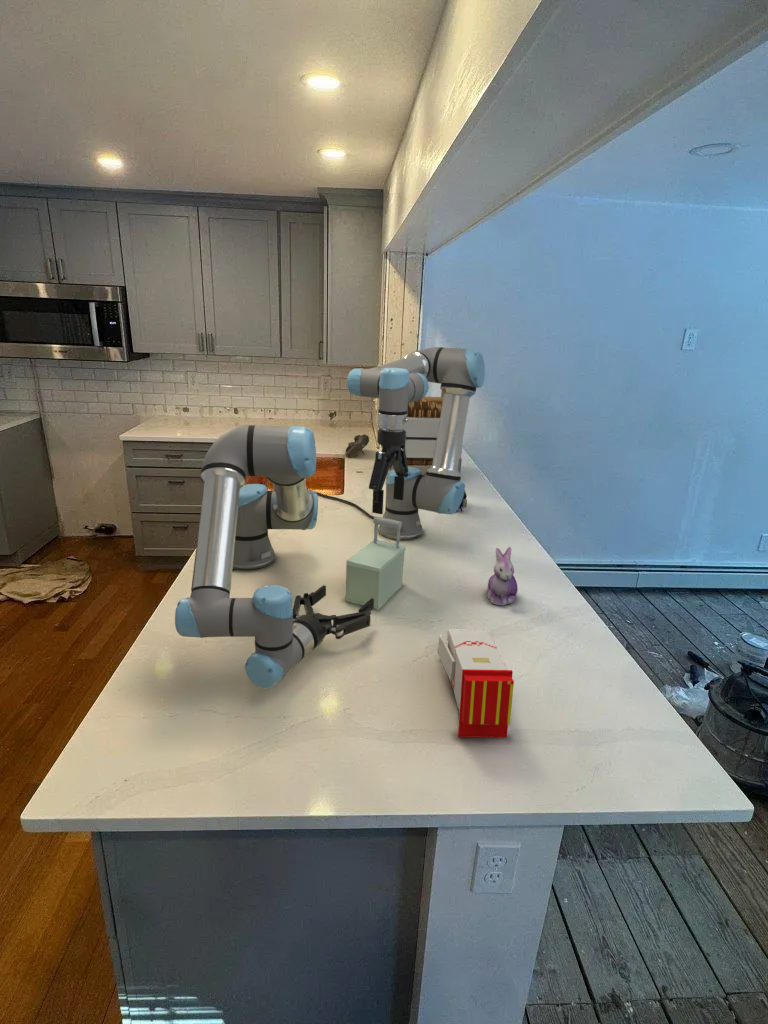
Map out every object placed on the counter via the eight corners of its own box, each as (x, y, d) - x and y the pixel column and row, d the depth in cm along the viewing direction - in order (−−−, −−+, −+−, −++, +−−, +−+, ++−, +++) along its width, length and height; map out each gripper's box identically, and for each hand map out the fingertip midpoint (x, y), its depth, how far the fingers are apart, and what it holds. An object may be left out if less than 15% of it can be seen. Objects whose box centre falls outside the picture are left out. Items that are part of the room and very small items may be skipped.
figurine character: (467, 516, 223) (461, 500, 237) (469, 499, 220) (463, 483, 233) (450, 516, 223) (446, 499, 236) (452, 498, 220) (447, 483, 233)
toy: (488, 613, 130) (523, 677, 101) (484, 667, 133) (517, 744, 104) (435, 612, 130) (455, 676, 101) (432, 666, 133) (451, 743, 103)
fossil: (345, 440, 315) (366, 425, 310) (356, 453, 318) (377, 439, 313) (338, 454, 296) (361, 438, 291) (350, 468, 298) (372, 452, 293)
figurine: (499, 610, 151) (506, 558, 146) (476, 593, 160) (482, 544, 155) (527, 603, 156) (534, 553, 151) (503, 587, 164) (509, 539, 159)
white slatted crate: (382, 463, 289) (386, 382, 275) (445, 464, 293) (451, 384, 279) (390, 482, 257) (394, 392, 243) (460, 483, 261) (468, 394, 247)
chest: (372, 577, 167) (373, 544, 163) (402, 585, 163) (404, 551, 159) (345, 600, 153) (346, 564, 149) (377, 609, 149) (379, 573, 145)
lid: (374, 542, 164) (376, 513, 161) (405, 549, 160) (407, 519, 157) (346, 564, 149) (347, 532, 146) (379, 572, 145) (381, 539, 142)
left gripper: (255, 636, 130) (305, 597, 148) (350, 668, 120) (392, 622, 138) (254, 607, 127) (305, 572, 146) (351, 637, 118) (394, 595, 136)
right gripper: (384, 439, 136) (381, 522, 143) (422, 423, 157) (418, 496, 164) (356, 435, 139) (354, 516, 146) (398, 420, 160) (394, 491, 167)
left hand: (348, 596), depth 142 cm, fingers open, 13 cm apart
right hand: (388, 506), depth 155 cm, fingers open, 13 cm apart
